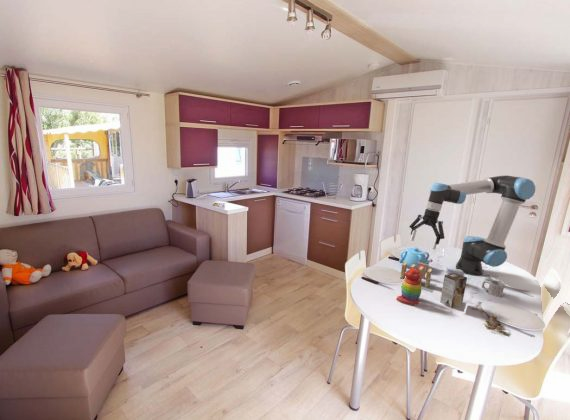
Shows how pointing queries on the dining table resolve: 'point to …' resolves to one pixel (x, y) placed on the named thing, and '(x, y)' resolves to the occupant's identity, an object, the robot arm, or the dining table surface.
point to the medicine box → (454, 271)
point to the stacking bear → (411, 288)
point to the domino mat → (430, 288)
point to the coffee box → (453, 290)
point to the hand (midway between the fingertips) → (422, 244)
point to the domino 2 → (423, 268)
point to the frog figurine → (496, 326)
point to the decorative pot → (414, 257)
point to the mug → (494, 287)
